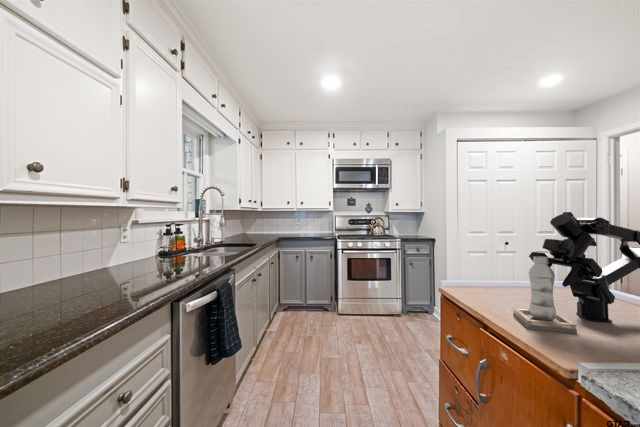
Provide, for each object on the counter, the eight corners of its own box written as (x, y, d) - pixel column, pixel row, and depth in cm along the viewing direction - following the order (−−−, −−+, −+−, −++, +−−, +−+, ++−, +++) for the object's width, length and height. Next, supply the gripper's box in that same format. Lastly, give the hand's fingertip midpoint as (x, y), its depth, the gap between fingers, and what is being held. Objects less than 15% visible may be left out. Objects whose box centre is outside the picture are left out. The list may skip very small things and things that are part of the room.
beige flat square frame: (555, 318, 89) (555, 311, 89) (576, 333, 78) (576, 325, 78) (513, 315, 93) (513, 308, 93) (527, 328, 82) (527, 320, 82)
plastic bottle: (526, 314, 90) (524, 255, 90) (552, 317, 87) (549, 256, 88) (532, 321, 84) (530, 258, 84) (560, 324, 81) (557, 259, 82)
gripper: (532, 229, 97) (507, 261, 95) (593, 231, 78) (564, 271, 76) (550, 250, 98) (526, 282, 96) (615, 256, 80) (587, 296, 77)
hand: (548, 282), depth 86 cm, fingers open, 9 cm apart
